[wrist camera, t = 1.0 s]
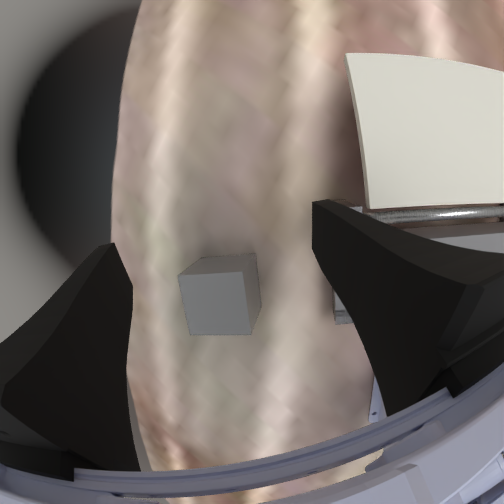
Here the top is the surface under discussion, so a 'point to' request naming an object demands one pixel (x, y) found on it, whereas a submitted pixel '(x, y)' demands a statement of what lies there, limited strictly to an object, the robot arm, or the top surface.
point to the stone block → (221, 295)
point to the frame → (415, 216)
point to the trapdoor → (431, 138)
